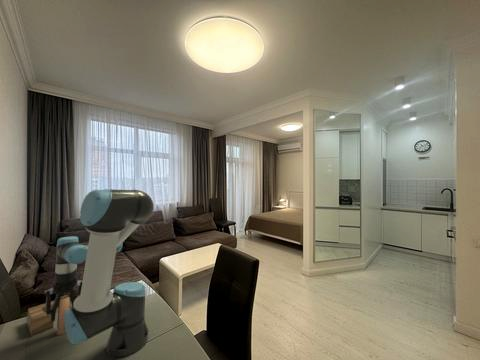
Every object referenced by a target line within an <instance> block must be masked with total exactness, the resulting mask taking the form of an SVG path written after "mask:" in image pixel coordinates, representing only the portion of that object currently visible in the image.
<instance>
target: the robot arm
mask: <svg viewBox="0 0 480 360" xmlns="http://www.w3.org/2000/svg"><path fill="white" fill-rule="evenodd" d="M154 205H155V204H154V202H153V199H152V198H151V196H150V195H149V194H148V193H146V192H144V191H142V190H139V189H111V188H110V189H109V188H104V189H94V190H91V191H90V192H88V194H86V195H85V196H84V198H83V200H82V203H81V205H80V211H79V214H80V217H79V218H80V222H81V225H83V226H85V229H86V231H87V232H88V233H90V234H89V238H88V239H89V240H88V241H87V242H82V243H81V242H79V237H78V236H75V235H74V236H73V235H71V236H70V235H69V236H64V237H60V238H58V239H57V242H56V246H55V247H56V254H55V255H56V257H55V269H54V270H55V271H54V272H55V274H54V282H53V283H54V284H53V285H52V287H51V288H49V289H46V290H44V293H45V303H46V310H45V312H46V314H47V315H48V314H51V321H52V322H53V321H54V325H53V327H54V328H53V329H54V330H57V320H58V312H57V311H56V310H57V307H58V304H59V301H60V298H61V297H62V296H63V295H64V294H65V293H68V295H70V302H71V304H72V306H70V308H69V309H68V310H66V312H65V313H64V324H65V329H66V333H65V334H66V336H67V339H68V341H69V343H70V344H72V345H79V344H81V343H83V342H85V341H86V342H87V341H88V340H90V339H92V338H93V337H95V336H97V335H99V334H101V333H103V332H105V331H107V330H109V329H111V331H110V334H109V337H108V340H107V343H106V353H107V355H108V356H110V357H111V358H112V357H113V358H123V357H127V356H129V355H132V354H134V353H136V352H138V351H139V350H141V348H143V347H144V346H145V345H146V344H147V342H148V341H149V333H150V332H149V327H148V325H147V322H146V319H145V317H146V316H145V315H146V314H145V313H146V295H147V293H146V285H144V284H143V283H141V282H137V281H136V282H135V281H131V282H130V281H129V282H123V283H120V284H116V286H114V288H113V292H112V291H111V290H110V289H111V286H112V285H111V283H112V279H113V272H114V267H115V260H116V255H117V253H119V252H121V251H122V250H123V246H124V245H123V243H124V242H125V240H126V239H127V238H129V236H131V234H132V233H133V232H134V231H135V230H136V229H137V228H138V227H139V226H140V225H143V224H145V223H146V222H148V220H149V219H150V218H151V217H152V215H153V213H154V210H155V208H154V207H155V206H154ZM84 262H85V263H84ZM82 263H84V271H83V276H82V279H81V280H77V271H78V270H77V268H78V264H79V265H80V264H82ZM75 286H77V289H76V298H75V293H74V290H73V288H74V287H75ZM53 291H55V293H56V294H55V298H54V300H53V301H54V304H53V307H52V310H50V309H51V301H52V294H53Z"/></svg>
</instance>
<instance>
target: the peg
mask: <svg viewBox="0 0 480 360" xmlns="http://www.w3.org/2000/svg"><path fill="white" fill-rule="evenodd" d="M70 302H71V300H70V295H69V294H65V295H62V296H61V298H60V301H59V304H58V320H57V329H56V335H57V336H61V335H64V334H67V333H66V329H65V324H64V313H65V312H66V310H68V309H69V308H70Z"/></svg>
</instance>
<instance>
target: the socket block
mask: <svg viewBox="0 0 480 360" xmlns="http://www.w3.org/2000/svg"><path fill="white" fill-rule="evenodd" d="M54 301H55V300H51V309H50V310H52V307H53V304H54ZM70 306H72V304H71V301H70ZM45 310H46V302H45V303H42V304H39V305H36V306H33V307H30V308H28V309H27V320H26V321H27V322H26V326H27V325H28V326H27V328H28V331H29V335H30V337H31V338H32V337H34V336H36V335H39V334H41V333H45V332H46V331H49V330H52V329H54V327H53V325H54V321H53V322H52V321H51V314H48V315H47V314H46V312H45ZM56 311H57V312H58V307H57V310H56Z"/></svg>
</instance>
